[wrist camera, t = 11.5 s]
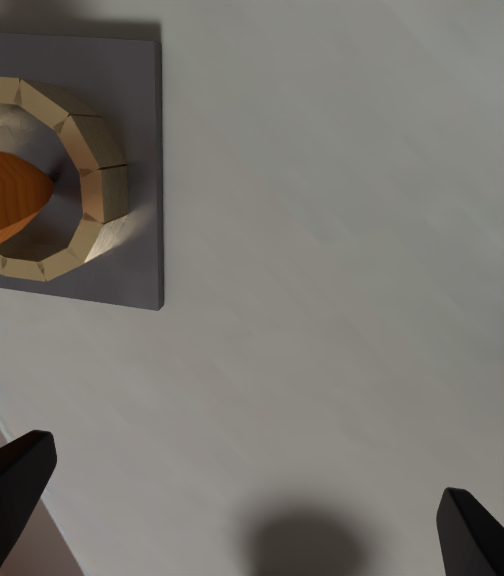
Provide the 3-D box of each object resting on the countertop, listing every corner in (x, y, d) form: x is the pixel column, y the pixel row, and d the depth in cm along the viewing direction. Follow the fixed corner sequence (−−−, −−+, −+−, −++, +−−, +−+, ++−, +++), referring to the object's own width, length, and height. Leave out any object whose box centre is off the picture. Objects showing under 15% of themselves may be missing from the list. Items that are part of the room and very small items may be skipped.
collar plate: (161, 44, 18) (127, 26, 15) (163, 305, 23) (139, 331, 20) (-72, 32, 19) (-145, 12, 16) (-23, 278, 24) (-72, 299, 21)
